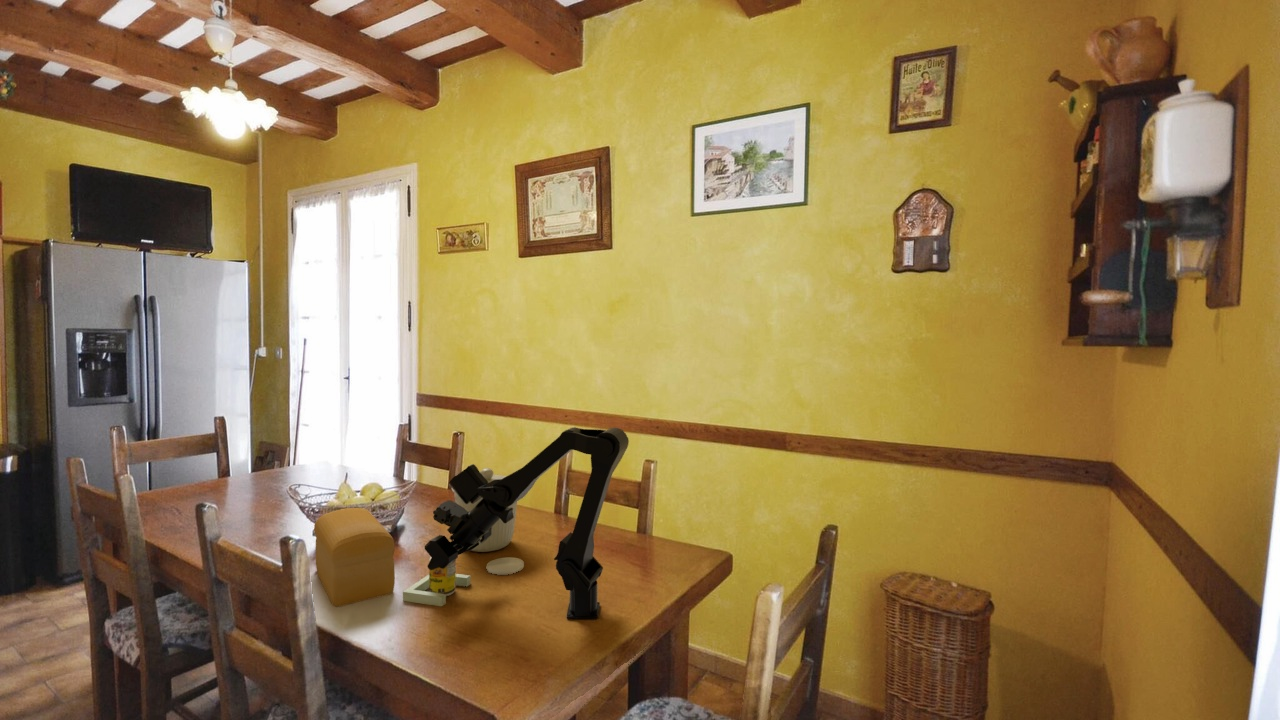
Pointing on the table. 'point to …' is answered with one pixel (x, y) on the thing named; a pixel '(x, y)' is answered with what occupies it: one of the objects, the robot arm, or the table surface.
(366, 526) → the bread
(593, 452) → the robot arm
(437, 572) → the supplement bottle
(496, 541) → the canister
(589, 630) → the table surface
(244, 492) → the table surface
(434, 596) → the pale green u-shaped bracket
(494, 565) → the coaster
